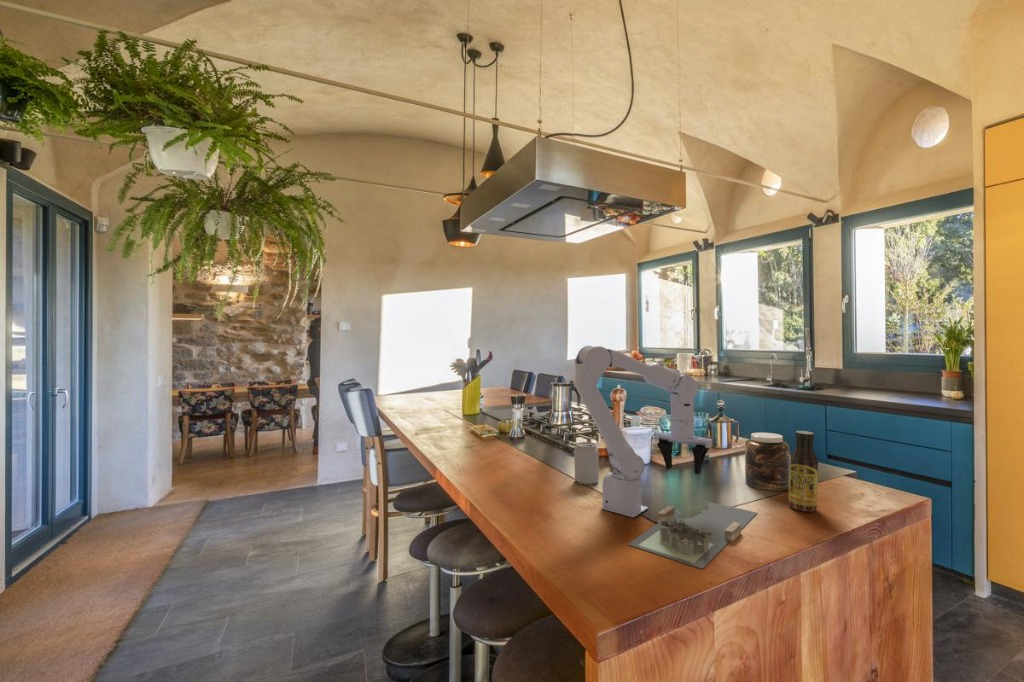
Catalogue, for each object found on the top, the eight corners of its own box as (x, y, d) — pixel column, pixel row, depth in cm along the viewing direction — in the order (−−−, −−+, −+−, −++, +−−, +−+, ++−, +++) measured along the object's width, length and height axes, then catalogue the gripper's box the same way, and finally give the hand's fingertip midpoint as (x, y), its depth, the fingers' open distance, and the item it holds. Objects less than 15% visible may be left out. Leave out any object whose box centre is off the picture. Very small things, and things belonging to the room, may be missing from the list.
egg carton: (714, 553, 94) (714, 533, 94) (681, 557, 93) (681, 537, 93) (685, 531, 104) (685, 514, 104) (655, 534, 103) (654, 516, 103)
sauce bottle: (786, 509, 118) (785, 432, 118) (791, 502, 122) (790, 428, 122) (816, 515, 113) (815, 435, 113) (820, 508, 118) (819, 431, 118)
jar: (748, 476, 145) (748, 429, 145) (791, 483, 138) (791, 433, 138) (742, 486, 136) (741, 436, 135) (788, 494, 129) (787, 441, 129)
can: (601, 485, 139) (600, 446, 139) (576, 485, 139) (575, 446, 139) (596, 478, 146) (596, 440, 146) (573, 478, 146) (572, 441, 146)
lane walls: (658, 521, 111) (658, 512, 111) (668, 514, 115) (668, 505, 115) (732, 542, 99) (732, 532, 99) (741, 533, 104) (740, 523, 104)
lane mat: (627, 544, 99) (627, 543, 99) (693, 499, 126) (693, 498, 126) (702, 569, 88) (702, 568, 88) (757, 513, 115) (757, 512, 115)
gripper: (715, 420, 119) (716, 472, 119) (662, 414, 129) (663, 462, 129) (705, 424, 114) (706, 478, 114) (651, 418, 123) (651, 468, 123)
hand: (682, 470), depth 121 cm, fingers open, 7 cm apart
